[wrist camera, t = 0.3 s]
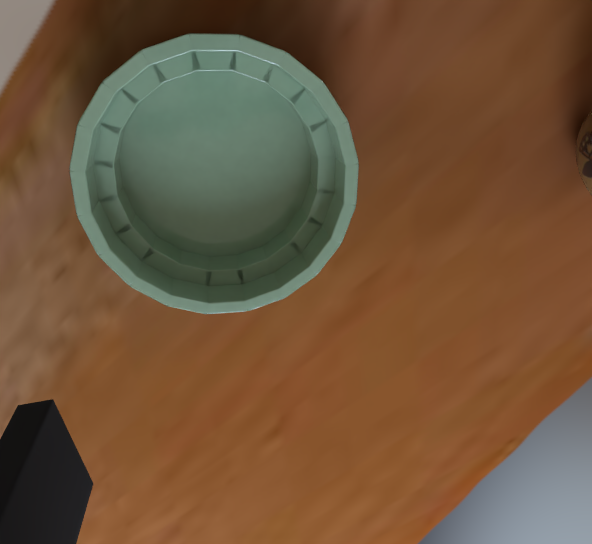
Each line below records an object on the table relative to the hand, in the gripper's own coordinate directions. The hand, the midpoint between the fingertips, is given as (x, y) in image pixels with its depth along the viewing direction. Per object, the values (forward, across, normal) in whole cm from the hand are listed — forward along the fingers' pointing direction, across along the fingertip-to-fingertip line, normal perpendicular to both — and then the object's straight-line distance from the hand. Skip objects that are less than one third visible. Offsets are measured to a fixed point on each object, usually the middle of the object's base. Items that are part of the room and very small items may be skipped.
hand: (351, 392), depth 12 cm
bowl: (+24, -4, -1) cm, 24 cm away
